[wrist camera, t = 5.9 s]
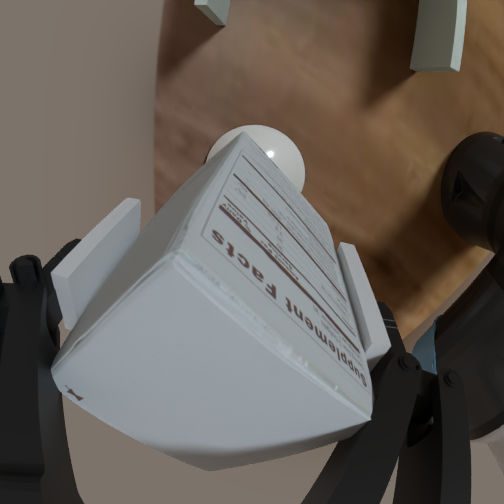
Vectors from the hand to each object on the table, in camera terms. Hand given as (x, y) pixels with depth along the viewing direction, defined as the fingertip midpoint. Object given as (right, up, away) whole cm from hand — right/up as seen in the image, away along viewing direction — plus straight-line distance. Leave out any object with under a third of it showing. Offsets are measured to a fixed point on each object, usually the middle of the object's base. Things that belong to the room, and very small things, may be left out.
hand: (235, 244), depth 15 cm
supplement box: (0, +2, +3) cm, 3 cm away
